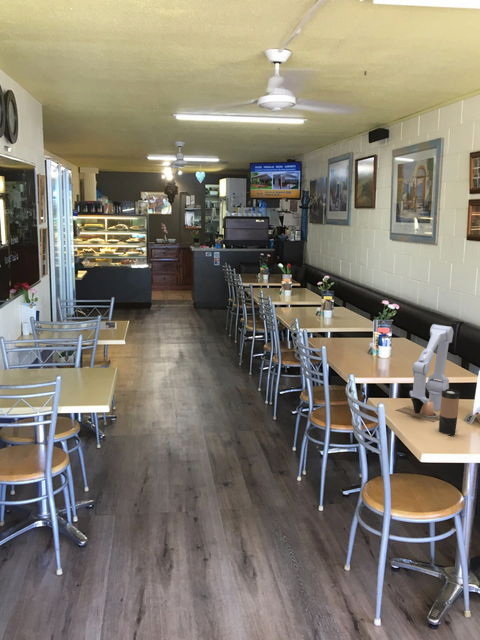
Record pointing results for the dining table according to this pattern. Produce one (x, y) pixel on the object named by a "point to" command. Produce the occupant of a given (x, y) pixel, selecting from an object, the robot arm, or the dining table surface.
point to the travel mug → (448, 411)
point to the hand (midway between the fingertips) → (417, 413)
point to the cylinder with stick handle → (427, 409)
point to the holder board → (419, 414)
